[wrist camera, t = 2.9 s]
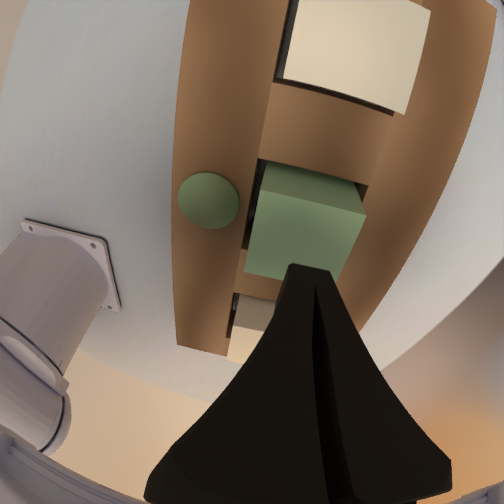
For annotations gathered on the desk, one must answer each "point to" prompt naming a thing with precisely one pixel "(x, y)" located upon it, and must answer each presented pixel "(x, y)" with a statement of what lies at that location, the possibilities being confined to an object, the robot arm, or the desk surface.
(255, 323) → the cream button
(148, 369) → the desk surface
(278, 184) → the sage button
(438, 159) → the brown wooden slotted board
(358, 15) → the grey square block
